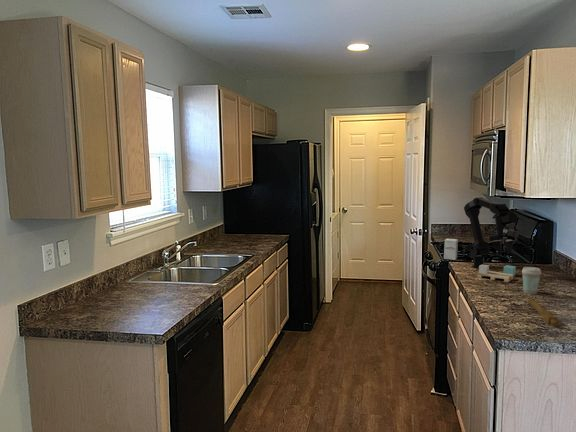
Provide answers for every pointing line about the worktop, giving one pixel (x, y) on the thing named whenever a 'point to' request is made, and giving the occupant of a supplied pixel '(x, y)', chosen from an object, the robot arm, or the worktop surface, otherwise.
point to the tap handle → (544, 313)
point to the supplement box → (450, 249)
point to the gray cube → (484, 269)
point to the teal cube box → (509, 270)
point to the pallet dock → (497, 275)
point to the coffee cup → (531, 279)
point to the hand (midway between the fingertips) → (505, 253)
